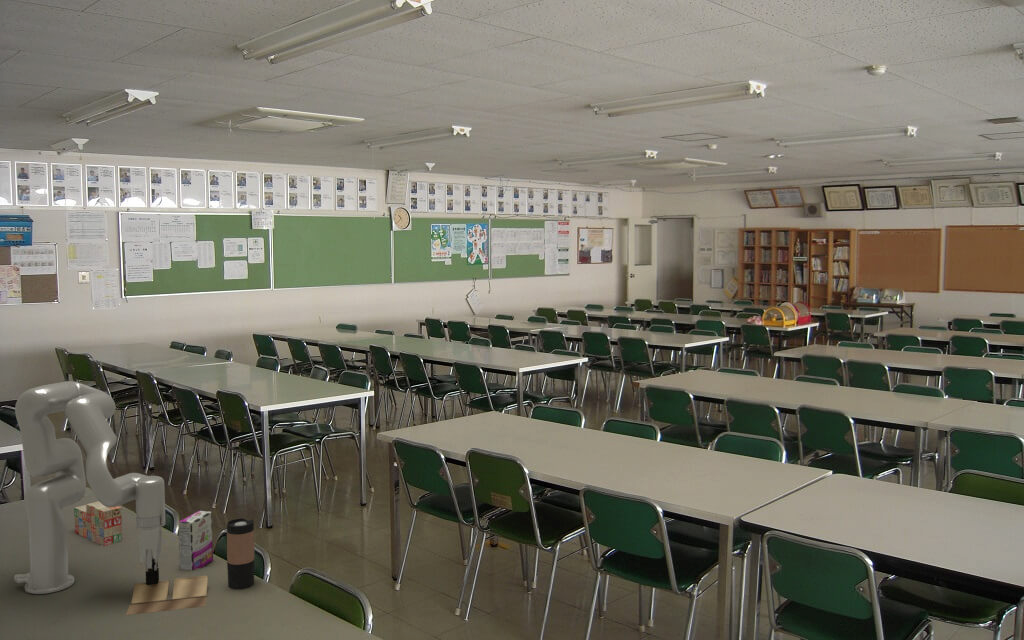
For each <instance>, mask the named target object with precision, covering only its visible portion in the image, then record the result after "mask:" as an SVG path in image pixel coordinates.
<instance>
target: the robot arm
mask: <svg viewBox="0 0 1024 640" xmlns="http://www.w3.org/2000/svg"><path fill="white" fill-rule="evenodd" d="M14 412H15V413H14V414H15V418H16V421H17V424H18V427H19V430H20V436H21V444H22V445H21V446H22V450H23V457H24V458H23V459H24V465H25V468H26V471H27V473H28V475H30V476H32V477H34V478H41V477H42V478H43V477H46V476H50V475H53V474H55V476H54V477H51V478H48V479H45V480H42V481H38V482H36V483H35V484H33V485H31V486H30V487H29V488H28V489H27V490H26V491H25V494H24V496H23V497H24V498H23V502H24V503H23V504H24V509H25V511H26V515H27V520H28V534H29V561H30V562H29V563H30V565H29V566H30V572H27V573H24V574H23V573H19V574H14V578H13V580H14V582H16V584H23V583H25V585H24V591H25V592H26V593H29V594H32V595H42V594H43V595H45V594H46V595H47V594H52V593H56V592H60V591H62V590H66V589H67V588H69V587H71V586H72V585H73V584H74V582H75V577H74V575H72V574H69V558H68V554H69V553H68V552H69V551H68V549H69V548H68V528H67V526H68V525H67V522H66V519H65V517H64V515H63V514H62V512H61V510H62V509H64V508H66V507H69V506H71V505H73V504H76V503H78V502H80V501H81V500H82V499H83V498H84V497H85V494H86V493H87V492H86V491H87V484H88V486H89V488H90V490H91V491H92V493H93V494H94V496H95V498H96V499H97V501H99V502H100V503H101V504H103V505H104V506H106V507H117V506H122V505H124V504H126V503H129V502H132V501H134V500H135V516H136V517H135V521H136V522H135V523H136V524H135V526H136V529H137V530H138V529H139V544H138V545H139V546H138V547H139V548H138V549H139V550H138V563H139V565H142V564H145V583H146V585H153V584H158V581H160V571H159V569H160V568H159V559H160V557H161V553H162V538H163V537H162V527H164V526H165V525H166V497H165V496H166V494H165V492H166V491H165V490H166V489H165V479H164V478H163V477H161V476H159V475H146V474H143V473H139V472H129V473H126V474H123V475H121V476H117V477H116V478H113V476H112V475H111V473H110V471H109V468H108V464H107V457H108V454H109V453H110V451H111V449H112V448H113V447H114V446H115V445H116V443H117V440H118V438H117V435H116V434H115V432H114V430H113V428H112V427H111V425H110V424H109V422H108V419H110V418H112V416H113V415H114V414H115V412H116V403H115V400H114V399H113V397H112V396H111V395H110V394H108V393H107V392H105V391H102V390H100V389H97V388H95V387H92V386H89V385H86V384H84V383H82V382H78V381H71V380H68V381H62V382H55V383H49V384H43V385H39V386H35V387H32V388H30V389H27V390H26V391H24V392H23V393H22V394H20V396H19V397H18V398H17V400H16V403H15V408H14ZM60 412H64V414H65V418H66V419H67V421H68V423H69V424H70V426H71V428H72V429H73V431H74V433H75V435H76V436H77V438H78V440H79V442H80V444H81V445H82V447H83V449H84V450H85V452H86V460H85V467H84V459H83V453H82V450H81V448H80V445H78V443H77V442H76V441H75V440H73V439H72V438H69V437H61V438H57V436H56V428H55V425H54V424H53V422H52V421H51V420H50V418H49V417H48V415H51V414H54V413H60ZM86 481H87V482H86ZM144 562H145V563H144Z"/></svg>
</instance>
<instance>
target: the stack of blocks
mask: <svg viewBox="0 0 1024 640" xmlns="http://www.w3.org/2000/svg"><path fill="white" fill-rule="evenodd" d="M73 514H74V532H75V533H76V534H77V535H78V534H79V536H82V537H84V538H85V539H88V540H90V541H92V542H94V543H96V542H97V544H98V543H99V545H100V544H101V545H100V546H102V545H103V547H106V546H109V545H108V544H110V545H112V544H111V543H113V544H116V543H115V542H117V543H120V542H119V541H121V540H123V539H122V538H123V533H122V530H123V529H122V528H123V527H122V524H123V523H122V521H123V520H122V519H123V518H122V506H121V505H119V506H117V507H106V506H104V505H103V504H101V503H100V502H99V500H97V501H95V502H91V503H87V504H84V505H80V506H75V507H73ZM121 542H122V541H121ZM105 545H106V546H105Z"/></svg>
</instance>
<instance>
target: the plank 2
mask: <svg viewBox="0 0 1024 640" xmlns="http://www.w3.org/2000/svg"><path fill="white" fill-rule="evenodd" d="M208 581H209V576H208V574H207V575H198V576H190V577H189V576H187V577H178V578H174V580H173V588H172V589H173V590H172V599H180V598H190V597H199V596H208V584H209V582H208Z"/></svg>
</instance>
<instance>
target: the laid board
mask: <svg viewBox="0 0 1024 640" xmlns="http://www.w3.org/2000/svg"><path fill="white" fill-rule="evenodd" d="M207 598H208V595H206V596H198V597H188V598H179V599H167V600H161V601H151V602H142V603H133V604H131V603H129V606H128V608H127V611H126V613H125V615H126V616H129V615H138V614H146V613H157V612H165V611H173V610H183V609H193V608H202V607H206V605H207Z"/></svg>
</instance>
